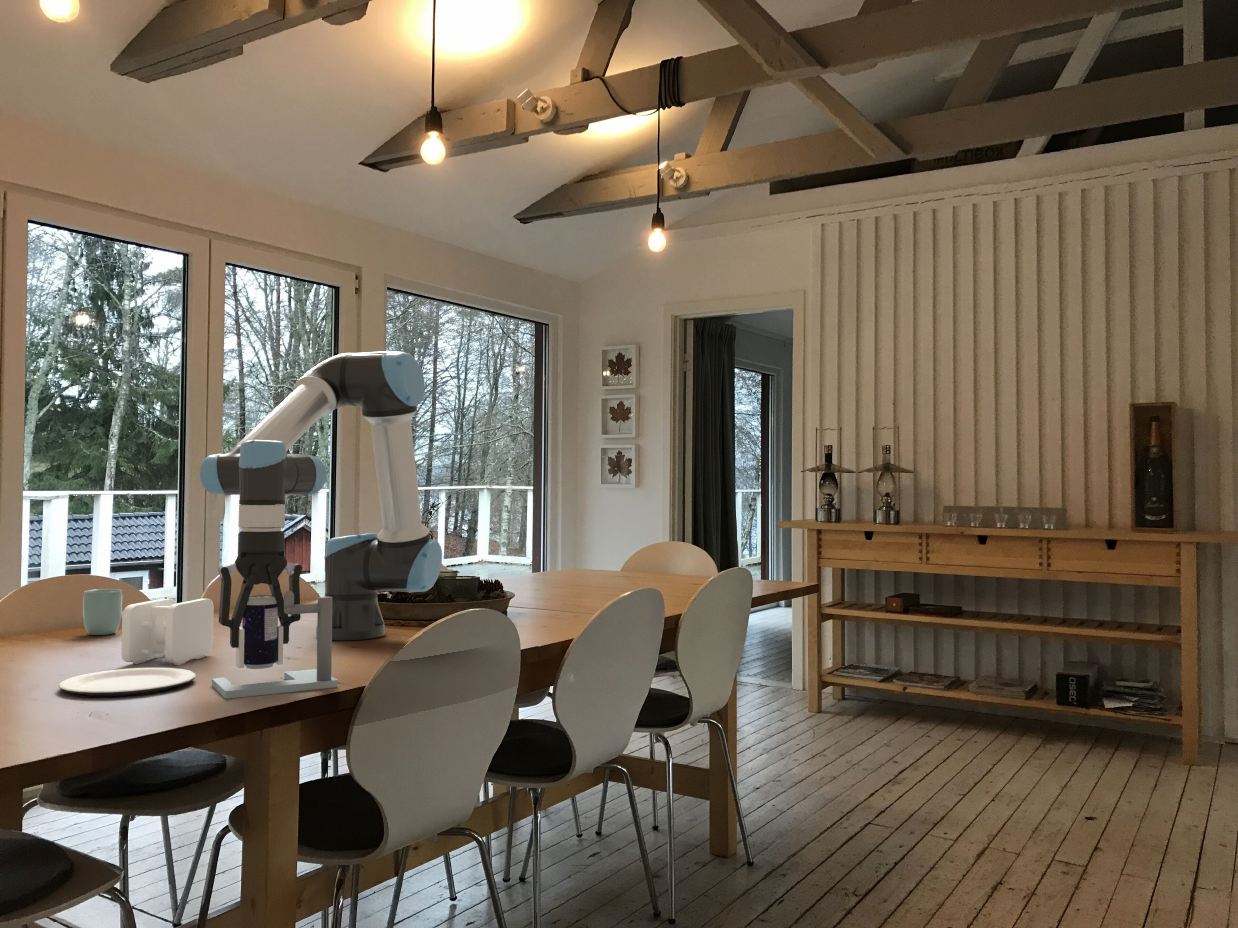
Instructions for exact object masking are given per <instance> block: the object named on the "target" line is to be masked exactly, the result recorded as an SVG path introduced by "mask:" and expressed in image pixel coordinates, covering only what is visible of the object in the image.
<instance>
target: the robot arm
mask: <svg viewBox="0 0 1238 928" xmlns="http://www.w3.org/2000/svg"><path fill="white" fill-rule="evenodd" d="M425 391H426V383H425V376H424V373H423V370H422V368H421V365H420V363H419V362H418V361H417V359H416V358H415V357H414V356H413V355H412V354H410V353H408V352H405V351H393V350H384V351H383V350H382V351H368V352H364V351H363V352H343V353H339V354H337V355H334V356H331V357H329V358H327V359H325V360H323V361H322V362H320V363H318V364H317V365H315V366H314V367H312V368H311V369H309V370H308V371H306V372H305V373H304V374H303V375H302V376H301V377H299V379H298V380H296V382H295V384H294V385H293V390H292V392H291V393H290V394H288V396H287V397H286V398H284V399H283V401H281V403H279V404H278V405H277V406H276V407H274V409H273V410H272V411H271V412H269V413H268V415H266V416H265V417H264V418H263V419H262V420H261V421H260V422H259V423H258V424H257V425H256V426H255V427H254V428H253V429H251V431H249V433H247V434H246V435H245V436H244V437H243V438H242V439H241V440H240V441H238V443H237V444H236V445H235V446H233V448H232V449H230V450H229V451H227V453H217V454H215V453H214V454H210V455H207V456H206V457H205V458H204V459H203V460H202V463H201V465H200V469H199V480H200V482H201V485H202V487H203V488H204V490H205V491H206V492H208V493H211V494H213V495H225V496H231V495H232V496H233V495H235V496H237V495H238V496H239V500H238V528H240V529H241V531H239V532H238V533H237V557H236V559H235V561H234V563H232V564H228V565H226V566H224V565H221V566H220V567H218V574H219V577H220V580H221V584H220V593H219V595H220V597H219V610H218V611H219V612H218V623H219V624H220V625H221V626H223V627H227V628H229V645H230V647H231V648H233V649H235V666H236V667H237V668H238V669H243V668H245V665H244V629H243V628H242V626H241V623H242V622H243V615H244V612H245V609H246V605H247V603H248V599H249V596H251V592H252V590H253V589H254V586H255V585H261V584H264V585H268V588H269V591H270V594H271V595H272V596H273V597H275V599H276V602H277V604H278V621H279V623H280V624H278V633H277V661H276V662H275V663H274V664H276V665H283V664H284V663H283V661H284V645H287V644H289V642H290V626H291V625H292V624H293V623H295V622H299V621H300V620H301V616H302V614H290V615H288V614H286V613H285V612H284V595H283V592H282V588H281V583H280V580H279V577H280V576H281V574H282V573H283V571H284V570H285V569H286V574H287V575H288V591H291V592H293V593H294V605H296V604H301V595H300V594H301V592H300V591H301V589H300V578H301V574H302V570H303V566H302V564H299V563H293V562H289V561H287V558H286V556H285V537H286V536H285V535H286V534H285V533H286V532H284V531H283V530H282V529H283V528H284V527H286V521H285V519H286V518H285V517H286V505H285V504H286V496H303V497H306V496H309V495H311V496H312V495H314V494H317V493H318V492H320V491H321V490H322V488H323V487H324V486H325V484H326V482H327V469H326V466H325V464H324V463H323V461H322V460H321V459H320V458H318V457H317V456H314V455H310V454H307V453H303V454H302V453H287V452H288V451H289V450H290V448H292V447H293V445H294V444H296V443H297V441H298V440H299V439H300V438H301V437H302V436H303V435H304V434H305V433H306V432H308V430H309V429H311V427H312V426H313V425H314V424H315V423H316V422H317V421H318V420H319V419H320V418H322V417H326V416H329V415H330V414H331V413H333V412H334V411H335V410H336V409H340V408H344V407H361V414H362V418H364V419H365V420H366V421H367V422H369V423H370V429H371V430H370V431H371V439H372V440H371V441H372V447H373V455H374V464H375V465H374V466H375V473H376V480H377V491H378V498H379V500H378V501H379V507H380V518H381V526H382V528H381V529H380V531H379V532H378V533H377V532H370V533H362V534H361V533H360V534H353V535H344V536H337V537H332V538H330V539H328V541H327V542H326V545H325V553H324V558H323V559H324V562H325V563H324V597H332V641H357V640H361V641H362V640H368V639H376V638H380V637H383V636H385V635H386V634H385V633H386V632H385V631H386V630H385V629H386V627H385V622H384V619H383V616H382V612H381V609H380V606H379V603H378V591H380V592H382V591H383V592H404V593H405V592H406V593H416V592H417V593H418V592H421V593H422V592H423V593H424V592H427V591H429V590H430V589H432V587H434V585H435V584H436V581H437V580H438V578H439V576H440V572H441V568H442V563H443V550H442V547H441V544H440V542H439V541H437V540H435V539H431V534H430V529H429V528H428V527H427V526H425V525H424V524H423V523H422V514H421V504H420V497H419V495H420V494H419V486H418V478H417V477H418V475H417V469H416V457H415V450H414V448H415V447H414V438H413V428H412V418H413V417H414V416H415V415H416V414H417V412H418V410H417V408H418V407H417V405H420V404H421V403H422V401H423V400H424V398H425V393H424V392H425ZM235 571H237V572H238V573H239V575H240V576H241V577H242V578H243V580H242V582H241V587H240V591H239V594H238V597H237V600H236V604H235V606H234V609H233V612H232V615H231V619H230V613H231V612H230V610H231V595H232V578H234V576H235V573H236V572H235ZM315 630H316V632H315V633H316V635H315V637H316V638H317V627H315Z"/></svg>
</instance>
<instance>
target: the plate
mask: <svg viewBox="0 0 1238 928" xmlns="http://www.w3.org/2000/svg"><path fill="white" fill-rule="evenodd" d="M196 676H197V675H196V673H195V672H193V671H192V670H189V669H184V668H176V667H133V668H120V669H110V670H103V671H95V672H90V673H85V674H80V675H76V676H72V677H69V678H67V679H65V680H62V681H61V682H60V683H59V684H58V688H59V689H60V690H61V691H63V692H67V693H72V694H79V695H84V696H90V697H91V696H92V697H93V696H94V697H97V696H98V697H119V696H120V697H121V696H135V695H143V694H151V693H157V692H161V691H165V690H169V689H172V688H175V687H177V686H179V687H180V686H182V685H185V684H187V683H190V682H191V681H193V680H195V679H196Z"/></svg>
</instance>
